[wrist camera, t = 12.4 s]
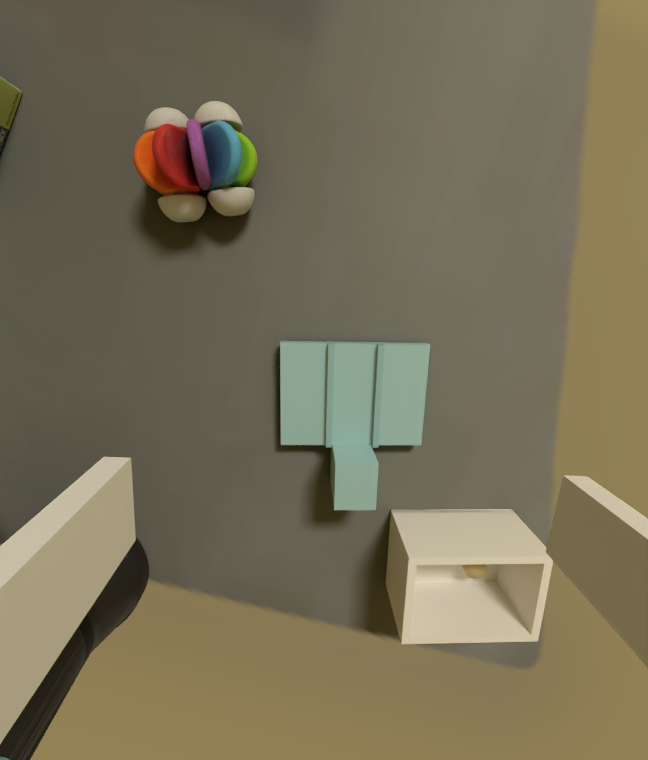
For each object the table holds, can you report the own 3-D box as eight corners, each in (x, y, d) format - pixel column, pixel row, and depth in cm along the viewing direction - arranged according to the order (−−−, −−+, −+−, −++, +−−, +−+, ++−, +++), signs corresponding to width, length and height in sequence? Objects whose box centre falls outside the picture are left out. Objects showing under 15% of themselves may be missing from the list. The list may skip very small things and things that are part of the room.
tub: (385, 584, 47) (401, 644, 39) (390, 509, 44) (408, 557, 37) (499, 582, 48) (537, 641, 40) (511, 509, 45) (554, 556, 37)
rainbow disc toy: (142, 125, 34) (99, 84, 27) (252, 112, 34) (238, 68, 27) (163, 227, 36) (129, 214, 29) (267, 215, 36) (258, 199, 29)
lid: (282, 477, 43) (278, 510, 37) (281, 339, 39) (276, 350, 33) (413, 477, 44) (430, 509, 38) (424, 341, 40) (446, 353, 34)
